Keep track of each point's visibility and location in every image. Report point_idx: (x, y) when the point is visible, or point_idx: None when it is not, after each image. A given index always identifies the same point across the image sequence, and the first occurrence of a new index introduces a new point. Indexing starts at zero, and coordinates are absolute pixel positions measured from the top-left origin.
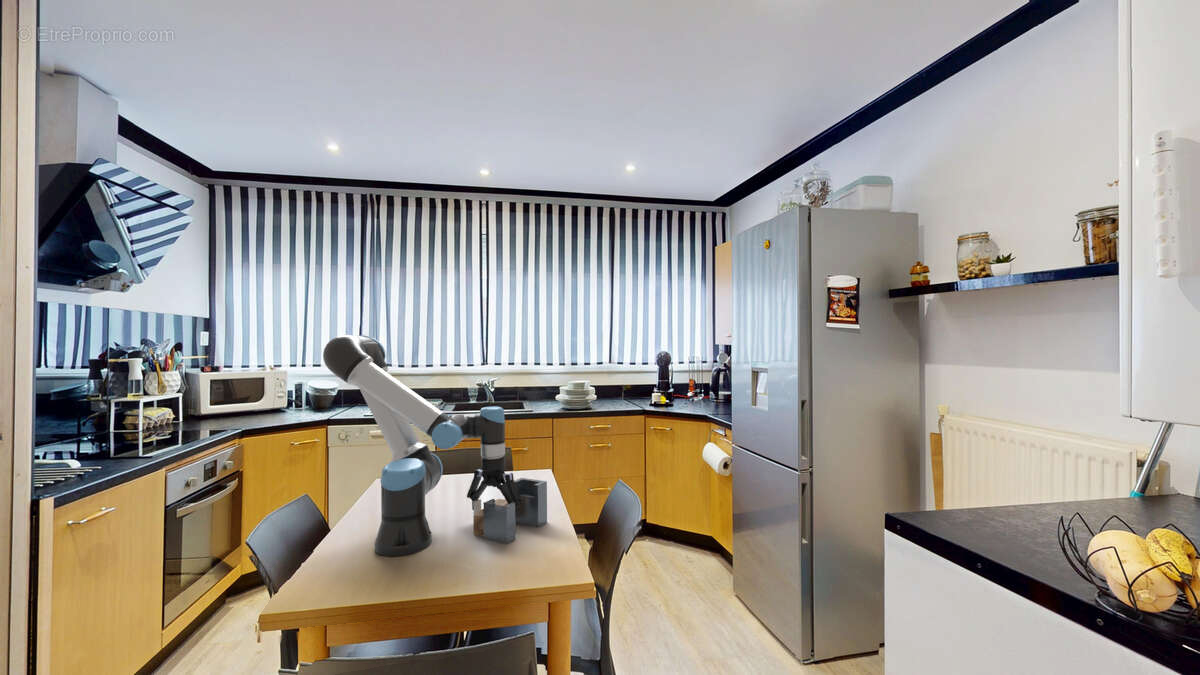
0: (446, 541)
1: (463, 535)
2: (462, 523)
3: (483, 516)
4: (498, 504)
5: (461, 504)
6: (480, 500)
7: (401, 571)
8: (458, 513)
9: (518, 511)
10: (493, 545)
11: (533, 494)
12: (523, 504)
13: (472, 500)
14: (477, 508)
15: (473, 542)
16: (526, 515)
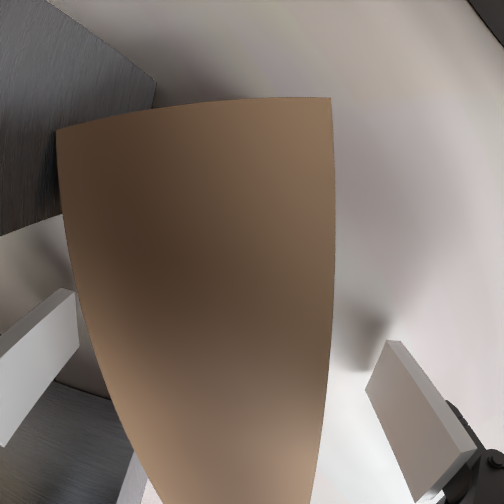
0: (405, 6)
1: (366, 112)
2: (461, 315)
3: (135, 113)
4: (222, 501)
5: None
6: (416, 492)
7: None
8: (495, 404)
9: (76, 450)
10: None
11: None
12: (17, 471)
13: (488, 451)
14: (415, 422)
15: (207, 17)
16: (28, 415)
